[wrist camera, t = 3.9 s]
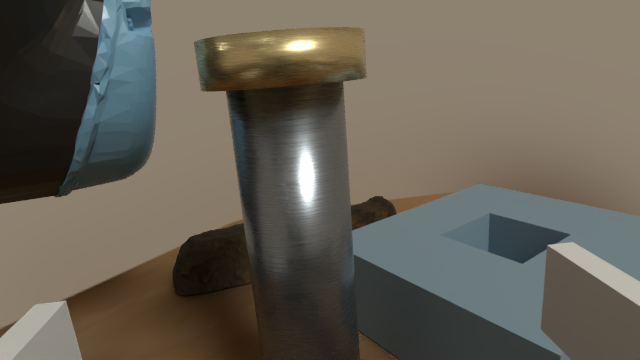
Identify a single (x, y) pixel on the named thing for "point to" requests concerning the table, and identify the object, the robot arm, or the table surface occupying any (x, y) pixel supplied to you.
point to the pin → (293, 180)
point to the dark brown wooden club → (241, 253)
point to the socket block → (476, 272)
